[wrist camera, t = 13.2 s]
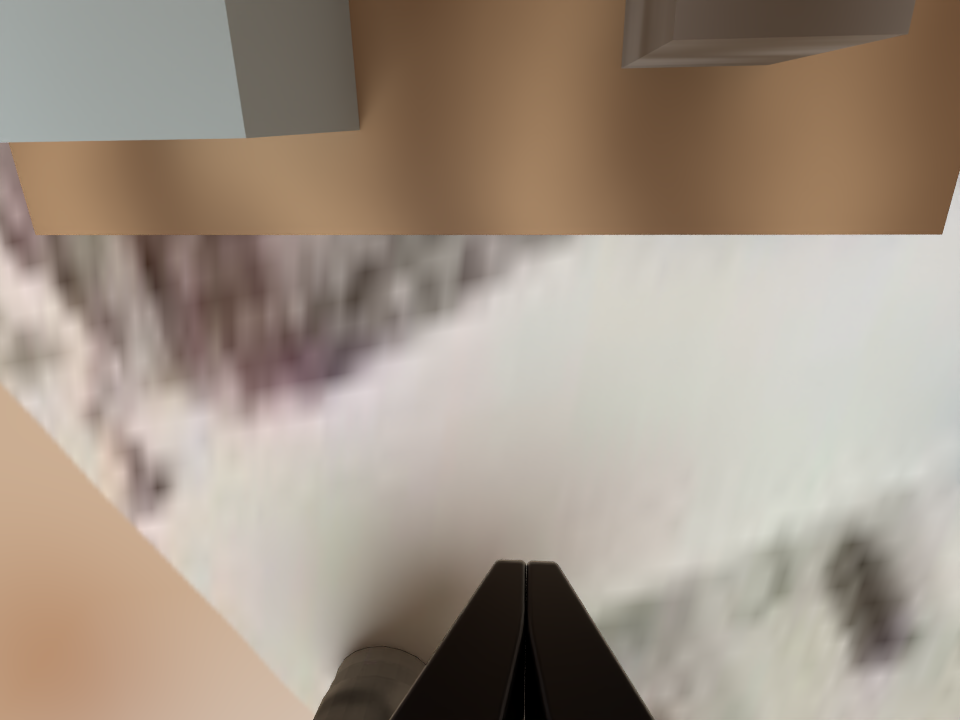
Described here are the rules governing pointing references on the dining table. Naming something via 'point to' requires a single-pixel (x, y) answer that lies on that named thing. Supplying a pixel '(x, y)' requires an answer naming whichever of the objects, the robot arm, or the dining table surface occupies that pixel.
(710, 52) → the stand
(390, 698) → the beverage cup
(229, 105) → the matte gray-blue cube
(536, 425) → the dining table surface
